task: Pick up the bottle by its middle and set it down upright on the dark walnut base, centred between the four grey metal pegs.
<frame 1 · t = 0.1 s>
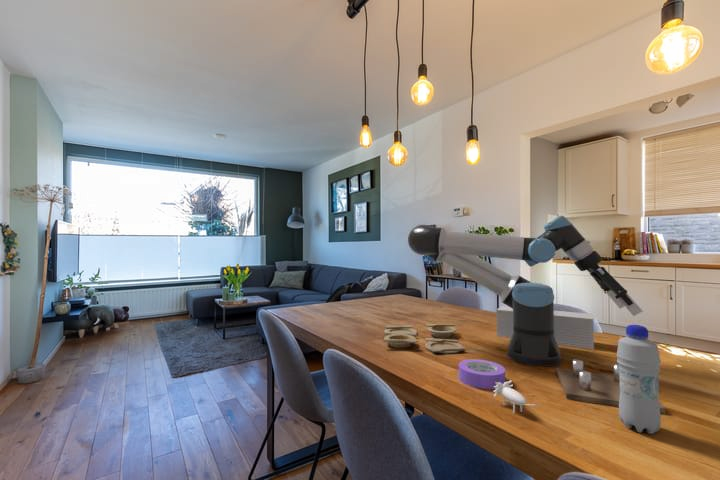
hand: (630, 309, 108), 15 cm above the table, tool tilted 35°, fingers open, 13 cm apart
masking tape: (481, 381, 89), on the table
bottle: (639, 428, 66), on the table
grey rectangular block: (543, 340, 130), on the table
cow: (515, 411, 73), on the table
tableware set: (420, 341, 128), on the table
pegs: (602, 377, 83), on the peg base, point 3 cm above the table
peg base: (602, 390, 83), on the table
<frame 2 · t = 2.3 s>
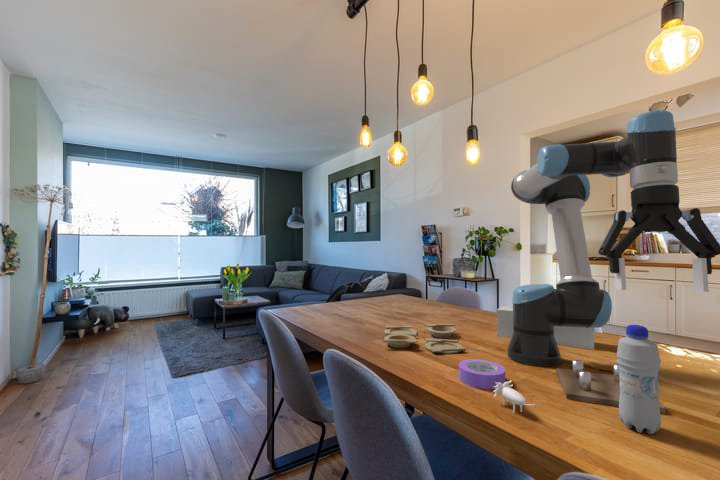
hand: (659, 290, 68), 27 cm above the table, tool pointing down, fingers open, 13 cm apart
nothing on the table moved.
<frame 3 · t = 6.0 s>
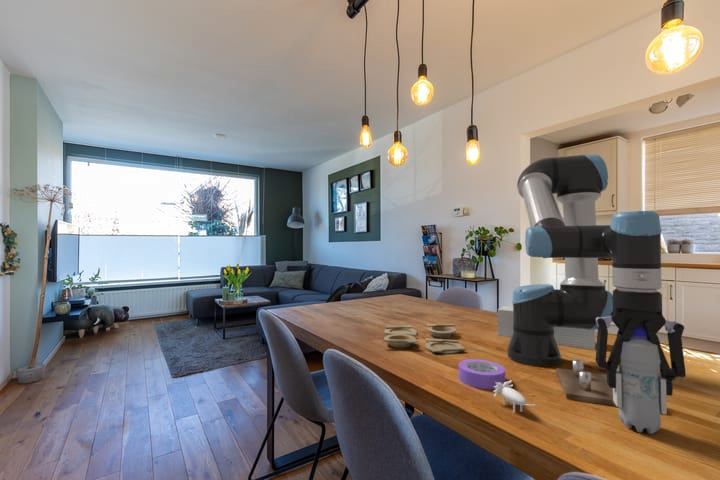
hand: (638, 407, 66), 4 cm above the table, tool pointing down, fingers closed on bottle, 6 cm apart
bottle: (639, 428, 66), on the table, touching gripper
everything else where it was.
when the fingers open (7 cm above the table, at t = 11.7 s): bottle drops 1 cm, resting on peg base.
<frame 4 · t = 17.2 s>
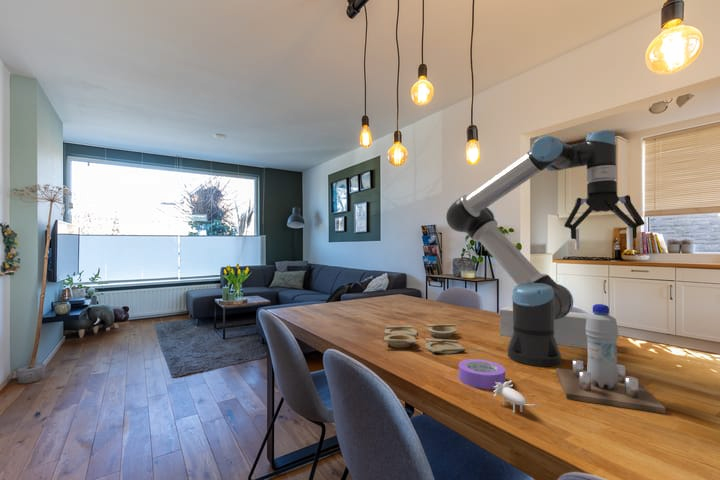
hand: (602, 249, 104), 35 cm above the table, tool pointing down, fingers open, 13 cm apart
bottle: (602, 386, 83), point 1 cm above the table, touching peg base
at the end: bottle 0.1 cm off-centre on the peg base, point 1.0 cm above the peg base's base; bottle tilted 0°; the gripper is holding nothing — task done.
